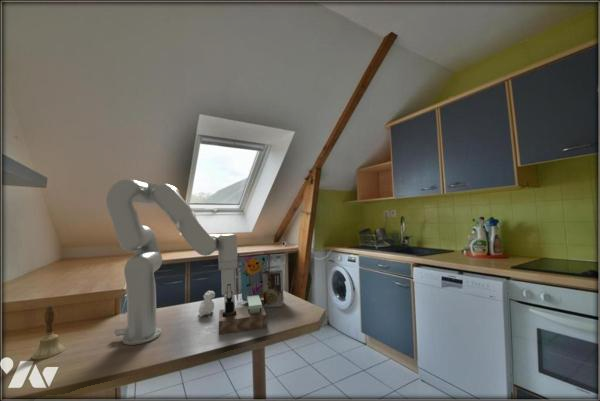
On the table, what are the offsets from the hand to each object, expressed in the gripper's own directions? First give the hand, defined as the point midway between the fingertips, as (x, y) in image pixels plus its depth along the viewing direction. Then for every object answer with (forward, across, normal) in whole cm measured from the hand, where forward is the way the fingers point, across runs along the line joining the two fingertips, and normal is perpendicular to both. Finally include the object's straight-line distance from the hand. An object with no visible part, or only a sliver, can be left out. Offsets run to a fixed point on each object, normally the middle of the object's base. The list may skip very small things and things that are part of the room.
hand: (229, 309), depth 107 cm
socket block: (+7, 0, +5) cm, 8 cm away
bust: (+7, -18, -10) cm, 22 cm away
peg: (+3, 0, 0) cm, 3 cm away
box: (+7, -25, +8) cm, 27 cm away
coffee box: (+7, -18, +21) cm, 28 cm away
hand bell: (+7, 0, -60) cm, 60 cm away
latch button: (+3, 0, +10) cm, 10 cm away
